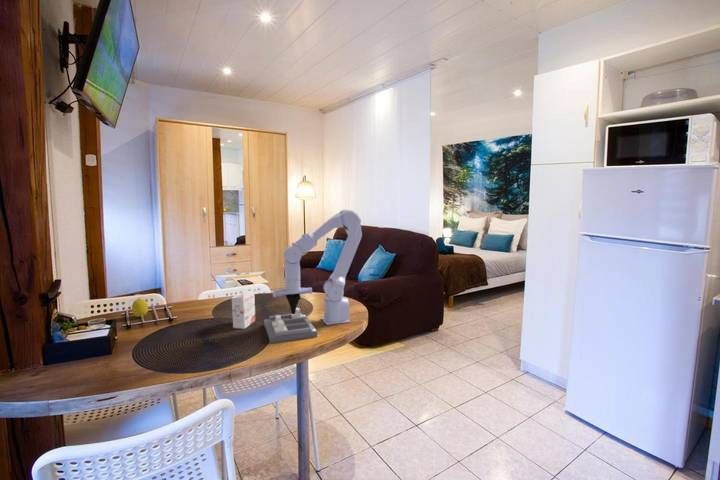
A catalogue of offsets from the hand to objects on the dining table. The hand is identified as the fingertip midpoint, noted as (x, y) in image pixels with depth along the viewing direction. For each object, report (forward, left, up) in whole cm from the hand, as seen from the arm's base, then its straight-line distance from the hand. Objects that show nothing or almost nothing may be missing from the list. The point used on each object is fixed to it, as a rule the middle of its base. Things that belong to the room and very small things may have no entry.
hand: (293, 313), depth 134 cm
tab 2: (+6, +11, -2) cm, 13 cm away
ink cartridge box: (+17, -6, -5) cm, 19 cm away
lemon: (+55, -28, -5) cm, 62 cm away
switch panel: (+2, +6, -4) cm, 7 cm away
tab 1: (+6, +6, -2) cm, 9 cm away
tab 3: (-2, 0, -2) cm, 3 cm away
